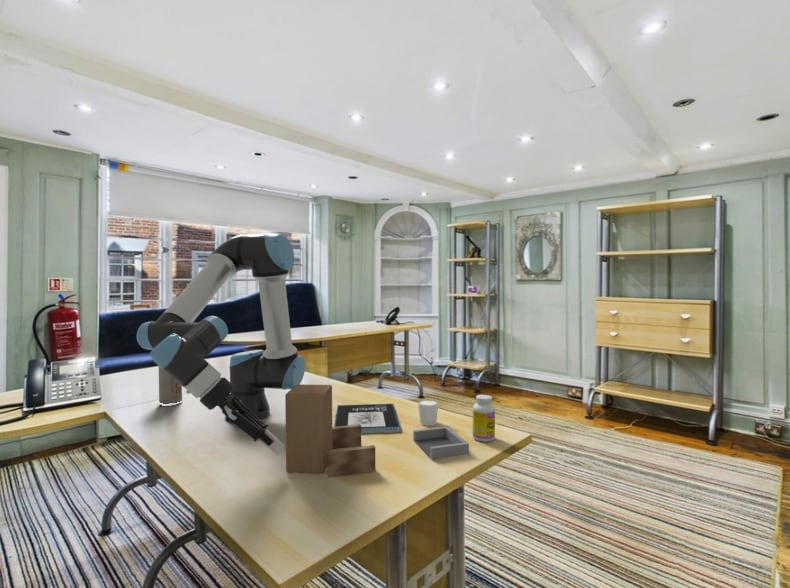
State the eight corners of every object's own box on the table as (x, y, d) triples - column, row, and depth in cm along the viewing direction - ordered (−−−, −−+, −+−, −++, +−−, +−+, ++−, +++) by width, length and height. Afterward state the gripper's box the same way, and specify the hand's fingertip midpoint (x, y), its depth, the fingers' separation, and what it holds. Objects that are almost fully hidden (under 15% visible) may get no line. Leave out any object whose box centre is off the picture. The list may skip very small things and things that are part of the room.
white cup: (442, 422, 139) (442, 402, 139) (430, 428, 134) (429, 406, 134) (426, 418, 144) (426, 398, 143) (414, 423, 139) (413, 402, 138)
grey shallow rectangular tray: (431, 459, 110) (431, 448, 110) (413, 440, 124) (413, 430, 123) (468, 454, 113) (468, 443, 113) (447, 435, 127) (447, 426, 127)
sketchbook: (393, 407, 159) (393, 401, 159) (401, 435, 130) (401, 428, 129) (337, 408, 157) (337, 402, 157) (333, 437, 128) (333, 430, 127)
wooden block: (332, 456, 112) (332, 384, 111) (324, 473, 102) (324, 394, 101) (296, 456, 112) (296, 384, 112) (285, 473, 102) (284, 393, 102)
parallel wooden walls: (327, 477, 100) (327, 453, 100) (319, 449, 117) (319, 428, 117) (375, 470, 103) (375, 447, 103) (360, 444, 121) (360, 424, 120)
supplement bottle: (488, 444, 120) (488, 401, 120) (468, 438, 125) (468, 397, 124) (498, 438, 125) (499, 396, 125) (479, 432, 129) (479, 392, 129)
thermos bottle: (186, 402, 163) (185, 333, 163) (166, 407, 157) (165, 335, 156) (175, 399, 168) (173, 331, 167) (155, 404, 161) (153, 333, 160)
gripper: (202, 392, 104) (270, 451, 109) (193, 407, 91) (269, 473, 96) (225, 370, 105) (291, 430, 110) (219, 382, 93) (293, 449, 98)
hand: (280, 450), depth 103 cm, fingers closed
